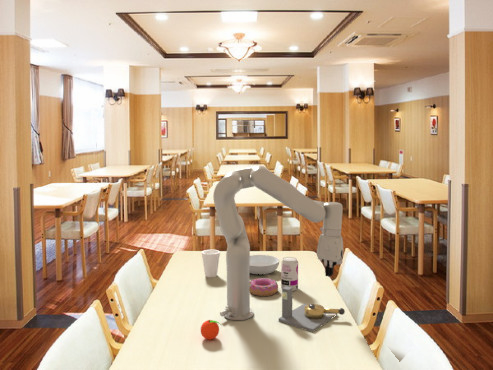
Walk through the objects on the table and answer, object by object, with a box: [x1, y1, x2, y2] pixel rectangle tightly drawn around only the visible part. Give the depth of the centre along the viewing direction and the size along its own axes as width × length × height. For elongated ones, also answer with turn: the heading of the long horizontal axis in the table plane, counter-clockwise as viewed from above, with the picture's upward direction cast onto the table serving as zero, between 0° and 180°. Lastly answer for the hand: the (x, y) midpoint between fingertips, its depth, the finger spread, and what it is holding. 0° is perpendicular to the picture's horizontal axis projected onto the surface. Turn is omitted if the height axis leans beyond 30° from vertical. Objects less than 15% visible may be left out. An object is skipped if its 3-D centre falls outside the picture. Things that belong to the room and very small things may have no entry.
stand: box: [278, 286, 338, 332], centre depth 183 cm, size 20×17×13 cm
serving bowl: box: [250, 254, 280, 276], centre depth 244 cm, size 21×21×7 cm
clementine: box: [200, 319, 222, 341], centre depth 166 cm, size 8×7×7 cm
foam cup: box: [201, 249, 221, 278], centre depth 238 cm, size 10×9×13 cm
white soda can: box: [280, 256, 299, 292], centre depth 218 cm, size 8×8×15 cm
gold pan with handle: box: [304, 303, 346, 319], centre depth 184 cm, size 16×8×4 cm, turn 84°
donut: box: [250, 277, 279, 297], centre depth 215 cm, size 14×14×5 cm
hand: (328, 275), depth 186 cm, fingers closed
